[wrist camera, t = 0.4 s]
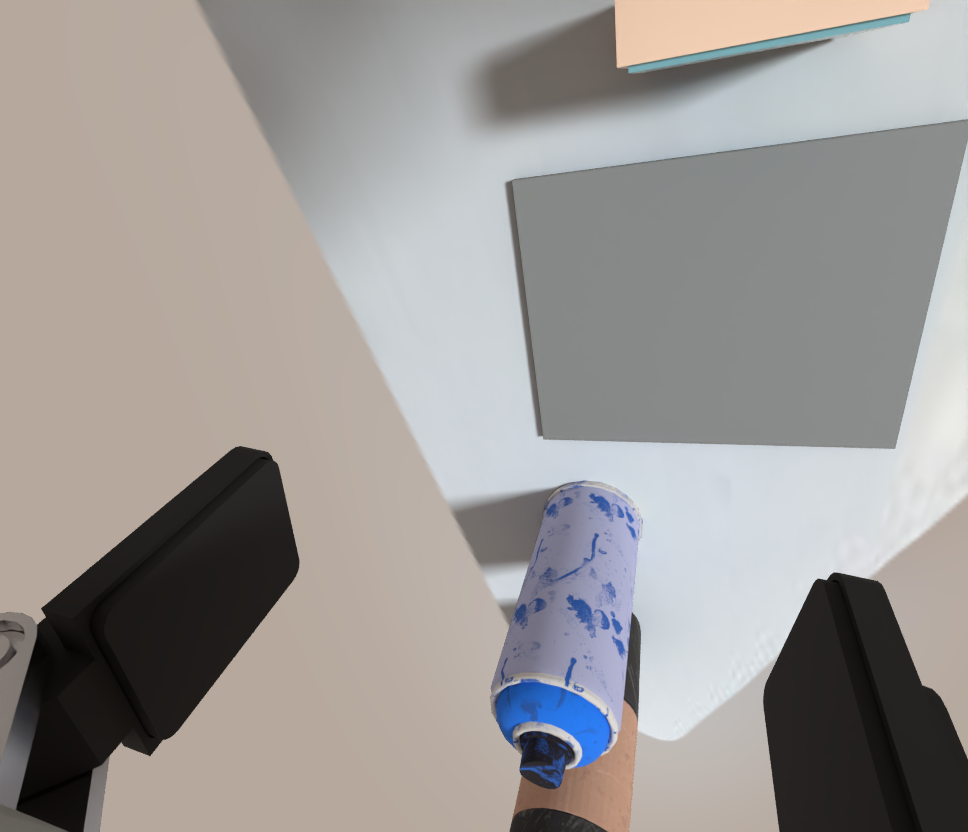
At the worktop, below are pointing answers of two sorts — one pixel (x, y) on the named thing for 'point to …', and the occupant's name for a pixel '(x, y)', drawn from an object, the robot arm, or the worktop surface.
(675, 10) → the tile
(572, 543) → the aerosol can
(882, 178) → the mat
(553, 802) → the travel mug
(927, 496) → the worktop surface
